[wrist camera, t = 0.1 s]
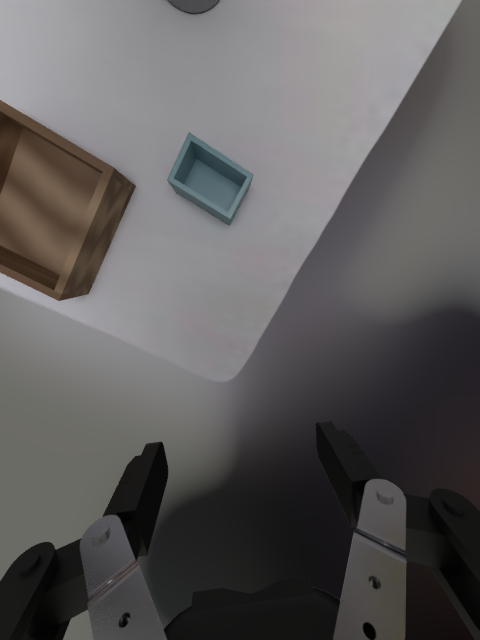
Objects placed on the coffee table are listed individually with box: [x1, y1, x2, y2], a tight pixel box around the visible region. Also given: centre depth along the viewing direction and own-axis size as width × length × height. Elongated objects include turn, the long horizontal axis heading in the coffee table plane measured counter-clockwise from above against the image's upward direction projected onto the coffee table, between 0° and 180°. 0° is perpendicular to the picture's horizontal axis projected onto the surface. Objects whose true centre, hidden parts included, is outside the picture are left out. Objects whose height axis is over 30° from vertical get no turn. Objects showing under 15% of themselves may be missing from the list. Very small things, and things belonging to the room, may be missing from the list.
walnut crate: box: [0, 100, 135, 301], centre depth 32 cm, size 18×16×7 cm
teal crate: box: [167, 133, 253, 225], centre depth 33 cm, size 6×9×6 cm, turn 60°
